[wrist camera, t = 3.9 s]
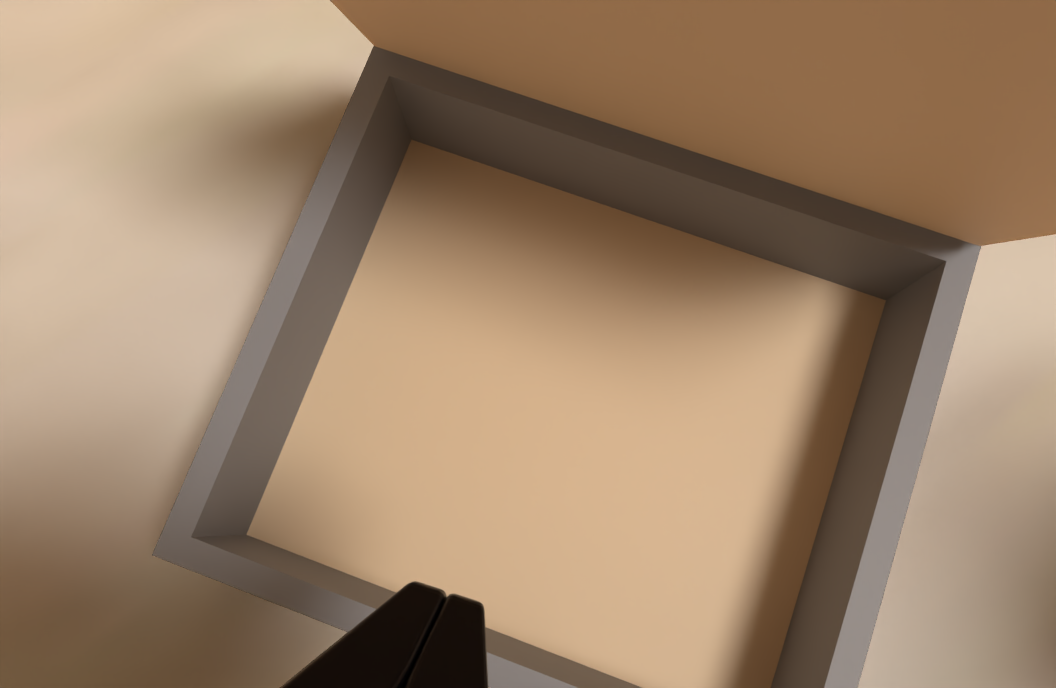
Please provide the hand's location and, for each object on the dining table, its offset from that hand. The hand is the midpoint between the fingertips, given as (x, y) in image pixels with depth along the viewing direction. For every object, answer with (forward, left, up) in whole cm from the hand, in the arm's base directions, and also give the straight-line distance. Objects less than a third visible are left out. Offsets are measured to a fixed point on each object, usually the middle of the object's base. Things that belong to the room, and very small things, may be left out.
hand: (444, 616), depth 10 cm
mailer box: (+3, -3, -12) cm, 13 cm away
